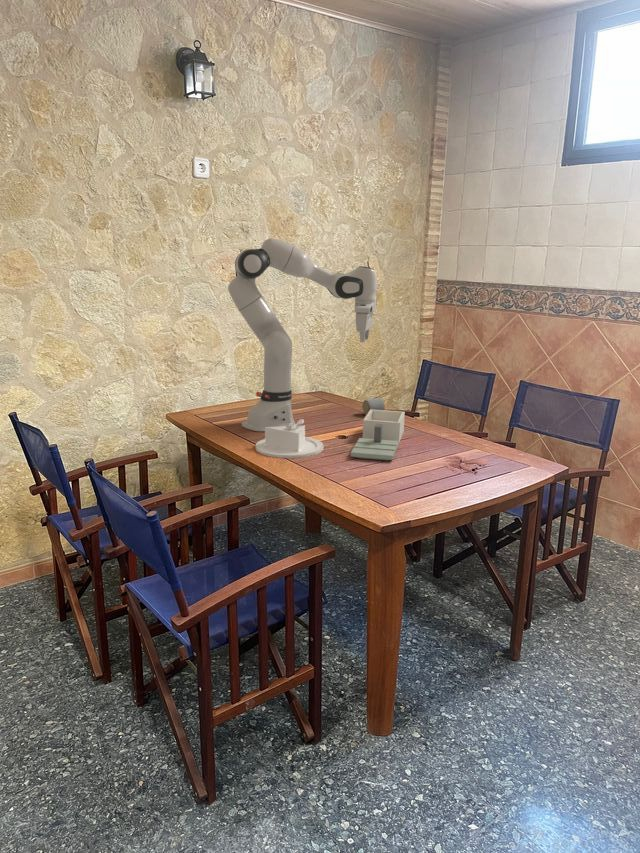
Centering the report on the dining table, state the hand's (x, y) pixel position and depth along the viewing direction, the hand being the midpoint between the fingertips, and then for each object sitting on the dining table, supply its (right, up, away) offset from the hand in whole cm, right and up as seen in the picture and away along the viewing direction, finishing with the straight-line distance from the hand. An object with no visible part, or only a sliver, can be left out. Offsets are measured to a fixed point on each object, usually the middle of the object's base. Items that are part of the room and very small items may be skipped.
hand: (364, 340), depth 264 cm
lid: (+1, -46, -36) cm, 58 cm away
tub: (+7, -39, -15) cm, 43 cm away
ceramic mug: (+6, -31, +17) cm, 36 cm away
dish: (-30, -44, -32) cm, 62 cm away
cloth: (+32, -50, -50) cm, 77 cm away
